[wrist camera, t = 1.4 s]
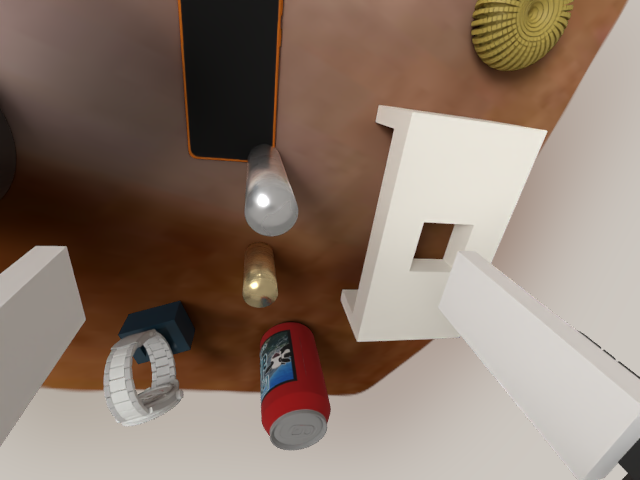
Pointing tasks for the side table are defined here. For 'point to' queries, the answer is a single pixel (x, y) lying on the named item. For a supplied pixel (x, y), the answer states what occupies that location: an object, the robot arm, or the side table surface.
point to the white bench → (435, 215)
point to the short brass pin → (259, 275)
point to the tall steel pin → (268, 193)
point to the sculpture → (517, 30)
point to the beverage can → (292, 387)
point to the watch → (147, 345)
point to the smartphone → (230, 75)
